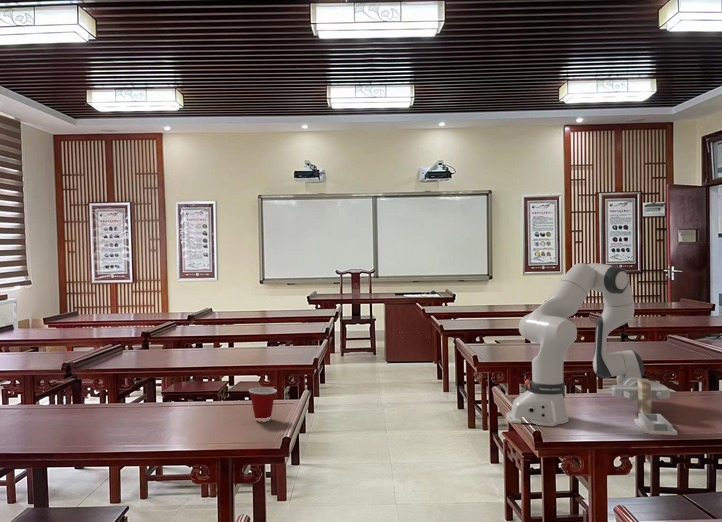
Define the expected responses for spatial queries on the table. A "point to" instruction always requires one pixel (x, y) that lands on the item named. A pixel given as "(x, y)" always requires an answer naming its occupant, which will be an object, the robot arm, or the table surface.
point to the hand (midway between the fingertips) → (644, 396)
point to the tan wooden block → (644, 396)
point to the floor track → (654, 424)
